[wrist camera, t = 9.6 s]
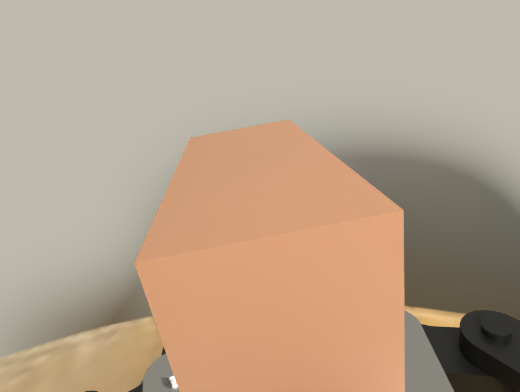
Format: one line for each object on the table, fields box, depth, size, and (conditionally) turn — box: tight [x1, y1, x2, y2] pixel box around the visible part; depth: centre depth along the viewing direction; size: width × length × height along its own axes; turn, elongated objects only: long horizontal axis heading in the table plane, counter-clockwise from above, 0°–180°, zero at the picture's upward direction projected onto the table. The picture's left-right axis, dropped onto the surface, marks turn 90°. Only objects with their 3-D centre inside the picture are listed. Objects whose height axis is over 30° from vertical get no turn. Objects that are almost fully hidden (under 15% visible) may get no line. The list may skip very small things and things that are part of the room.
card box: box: [135, 120, 405, 392], centre depth 9 cm, size 3×7×12 cm, turn 6°
